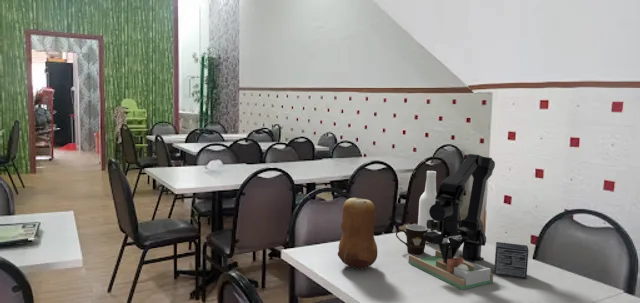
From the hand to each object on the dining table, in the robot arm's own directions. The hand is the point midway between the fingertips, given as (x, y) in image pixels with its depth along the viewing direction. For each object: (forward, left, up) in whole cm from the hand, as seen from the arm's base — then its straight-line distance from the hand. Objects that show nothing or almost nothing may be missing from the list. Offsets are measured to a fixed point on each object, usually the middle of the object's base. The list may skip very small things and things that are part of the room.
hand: (447, 259), depth 171 cm
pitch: (0, +1, -5) cm, 5 cm away
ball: (0, +7, -2) cm, 7 cm away
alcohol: (-19, -32, -5) cm, 37 cm away
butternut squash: (+27, -17, -5) cm, 32 cm away
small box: (-19, +11, -5) cm, 23 cm away
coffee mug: (-3, -23, -5) cm, 23 cm away
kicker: (0, +1, -3) cm, 3 cm away
